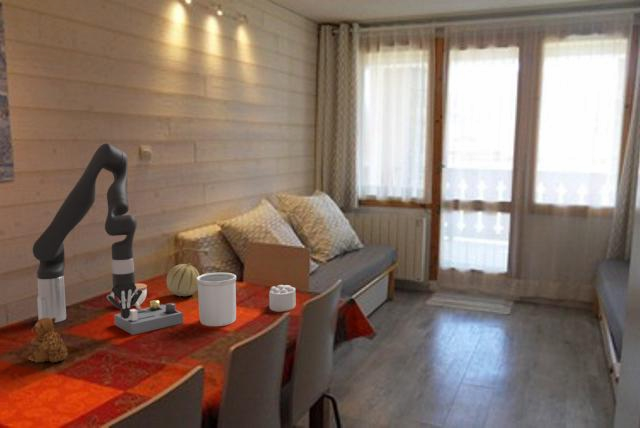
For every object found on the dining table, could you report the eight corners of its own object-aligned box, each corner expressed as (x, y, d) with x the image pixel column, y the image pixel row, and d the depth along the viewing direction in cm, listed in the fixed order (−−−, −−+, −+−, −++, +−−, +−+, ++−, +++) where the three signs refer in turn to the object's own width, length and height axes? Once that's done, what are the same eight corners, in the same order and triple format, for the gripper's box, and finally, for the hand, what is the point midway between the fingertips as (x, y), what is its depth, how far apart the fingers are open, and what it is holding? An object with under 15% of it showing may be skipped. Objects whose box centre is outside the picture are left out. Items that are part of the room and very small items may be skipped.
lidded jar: (142, 307, 234) (141, 285, 233) (117, 307, 234) (116, 285, 233) (150, 300, 244) (150, 279, 243) (126, 300, 244) (125, 279, 243)
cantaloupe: (164, 294, 255) (163, 262, 253) (196, 290, 261) (195, 259, 260) (170, 301, 242) (169, 268, 240) (203, 297, 248) (202, 264, 246)
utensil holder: (229, 328, 205) (228, 281, 203) (191, 326, 208) (190, 280, 206) (242, 316, 220) (241, 273, 218) (207, 314, 223) (206, 271, 221)
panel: (132, 335, 198) (132, 323, 198) (114, 324, 210) (114, 314, 210) (183, 323, 212) (182, 312, 211) (163, 314, 223) (163, 304, 223)
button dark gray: (168, 313, 210) (168, 305, 209) (164, 311, 212) (163, 304, 212) (177, 311, 212) (176, 304, 212) (172, 309, 215) (172, 302, 214)
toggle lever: (139, 313, 212) (132, 300, 209) (137, 312, 213) (130, 299, 211) (143, 309, 213) (136, 297, 210) (141, 308, 214) (134, 296, 212)
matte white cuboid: (132, 321, 200) (132, 311, 200) (129, 319, 203) (128, 309, 202) (137, 319, 202) (137, 310, 201) (134, 318, 204) (133, 308, 204)
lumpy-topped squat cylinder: (297, 303, 238) (297, 283, 237) (290, 312, 225) (290, 291, 224) (274, 302, 240) (273, 282, 239) (265, 310, 227) (265, 290, 226)
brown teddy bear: (56, 350, 184) (54, 311, 183) (78, 359, 175) (75, 319, 174) (25, 359, 176) (22, 318, 175) (46, 369, 168) (43, 327, 166)
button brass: (152, 310, 214) (152, 303, 213) (148, 308, 216) (148, 301, 216) (161, 308, 216) (161, 301, 216) (157, 306, 219) (156, 299, 219)
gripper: (108, 275, 191) (111, 324, 193) (145, 269, 200) (147, 316, 202) (100, 272, 196) (103, 319, 198) (136, 266, 205) (138, 312, 207)
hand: (125, 317), depth 200 cm, fingers closed
